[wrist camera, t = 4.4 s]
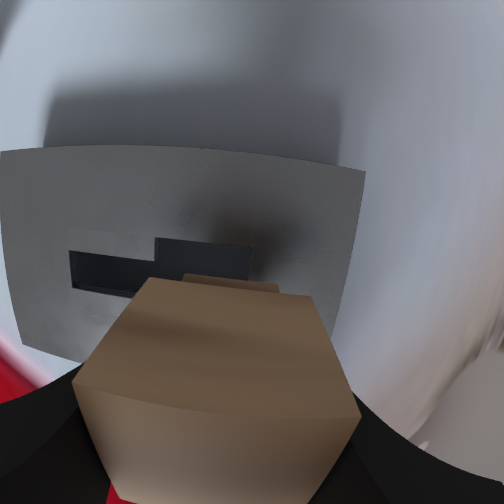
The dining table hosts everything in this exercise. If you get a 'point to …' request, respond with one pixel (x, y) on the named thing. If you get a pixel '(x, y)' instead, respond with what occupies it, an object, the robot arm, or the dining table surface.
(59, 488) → the robot arm
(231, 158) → the grey slotted base block
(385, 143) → the dining table surface
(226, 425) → the peg
